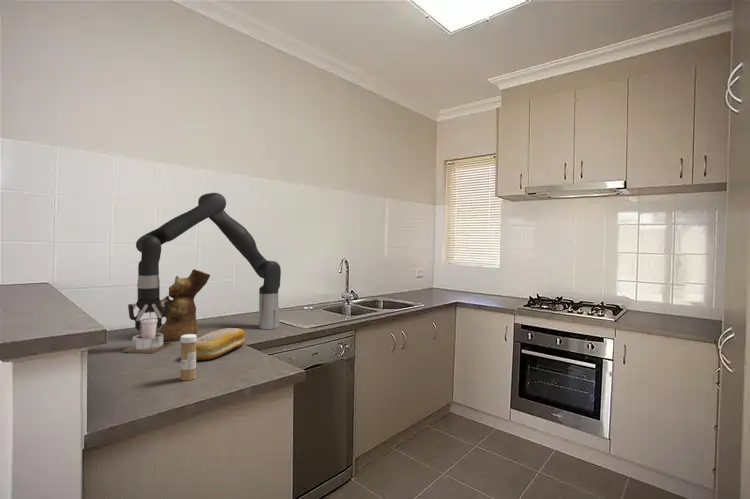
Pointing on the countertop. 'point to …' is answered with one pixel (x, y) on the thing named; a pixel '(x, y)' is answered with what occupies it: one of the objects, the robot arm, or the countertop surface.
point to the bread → (218, 343)
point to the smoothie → (148, 327)
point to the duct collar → (147, 344)
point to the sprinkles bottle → (188, 356)
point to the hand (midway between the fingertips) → (148, 328)
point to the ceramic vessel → (182, 306)
